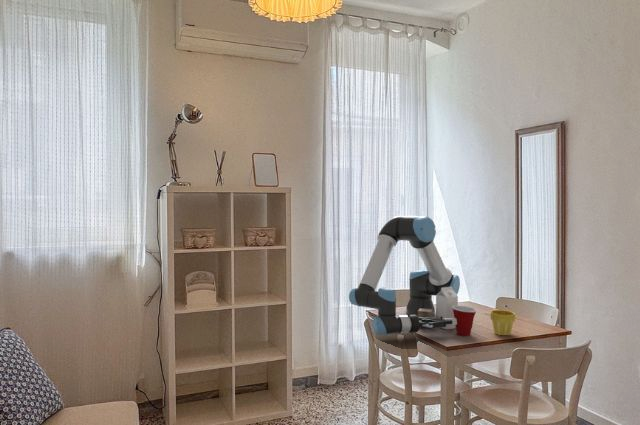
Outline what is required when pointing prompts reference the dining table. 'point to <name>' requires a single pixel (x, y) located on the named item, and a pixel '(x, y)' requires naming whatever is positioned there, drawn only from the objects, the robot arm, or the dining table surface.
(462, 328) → the plastic cup
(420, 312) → the walnut block
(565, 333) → the dining table surface
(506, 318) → the plant pot
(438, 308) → the milk carton
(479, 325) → the dining table surface
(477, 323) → the dining table surface
